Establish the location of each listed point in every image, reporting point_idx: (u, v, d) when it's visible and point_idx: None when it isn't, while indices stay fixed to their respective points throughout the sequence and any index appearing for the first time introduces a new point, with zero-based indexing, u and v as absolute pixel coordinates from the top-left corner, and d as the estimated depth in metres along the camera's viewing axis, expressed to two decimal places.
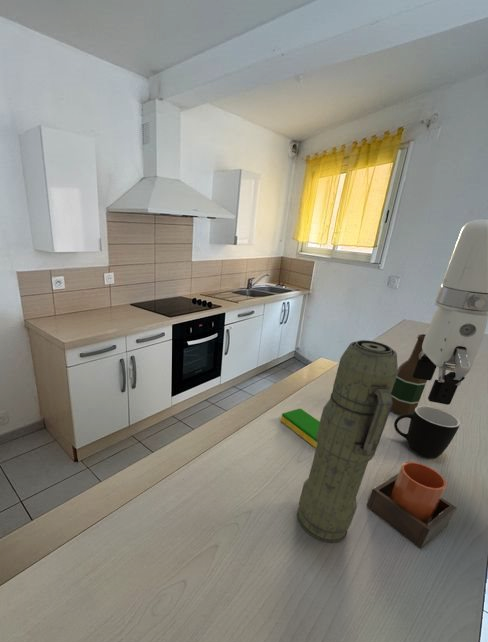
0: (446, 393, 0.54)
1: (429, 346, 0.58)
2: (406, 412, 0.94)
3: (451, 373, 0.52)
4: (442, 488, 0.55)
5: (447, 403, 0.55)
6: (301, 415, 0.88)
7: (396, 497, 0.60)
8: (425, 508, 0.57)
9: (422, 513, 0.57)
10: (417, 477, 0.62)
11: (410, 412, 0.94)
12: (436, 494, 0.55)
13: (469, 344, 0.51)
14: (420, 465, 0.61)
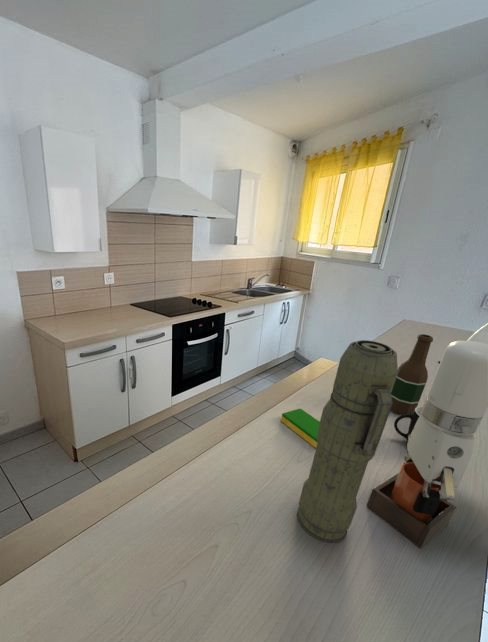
0: (430, 507, 0.55)
1: (415, 453, 0.57)
2: (406, 412, 0.94)
3: (436, 493, 0.52)
4: None
5: (431, 514, 0.56)
6: (301, 415, 0.88)
7: (396, 497, 0.60)
8: None
9: (422, 513, 0.57)
10: (417, 477, 0.62)
11: (410, 412, 0.94)
12: None
13: (457, 465, 0.51)
14: None
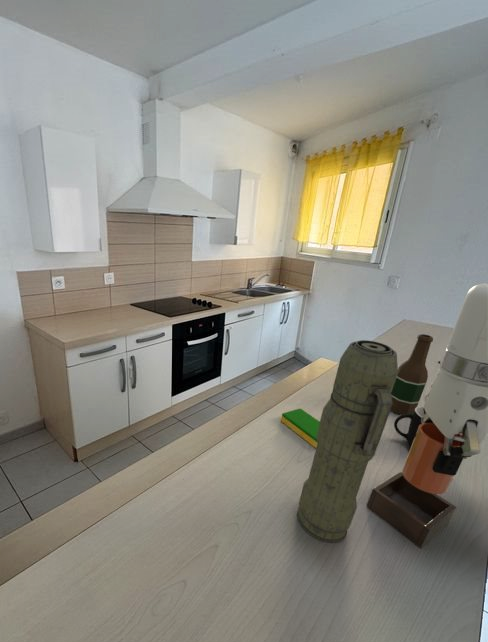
0: (452, 466, 0.51)
1: (434, 411, 0.54)
2: (406, 412, 0.94)
3: (458, 449, 0.49)
4: None
5: (452, 474, 0.53)
6: (301, 415, 0.88)
7: (413, 459, 0.57)
8: None
9: (442, 475, 0.54)
10: (435, 439, 0.58)
11: (410, 412, 0.94)
12: None
13: (481, 417, 0.47)
14: None
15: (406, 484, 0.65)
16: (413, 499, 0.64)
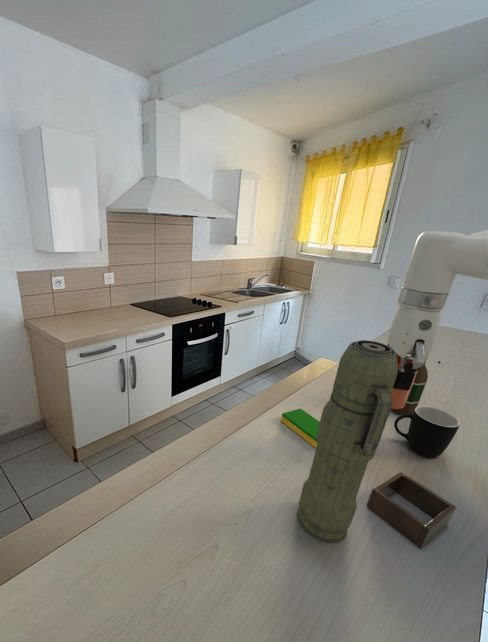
0: (406, 381, 0.64)
1: (394, 340, 0.67)
2: (406, 412, 0.94)
3: (409, 364, 0.61)
4: None
5: (407, 389, 0.65)
6: (301, 415, 0.88)
7: None
8: None
9: (399, 391, 0.67)
10: None
11: (410, 412, 0.94)
12: None
13: (426, 337, 0.60)
14: (398, 355, 0.70)
15: (406, 484, 0.65)
16: (413, 499, 0.64)
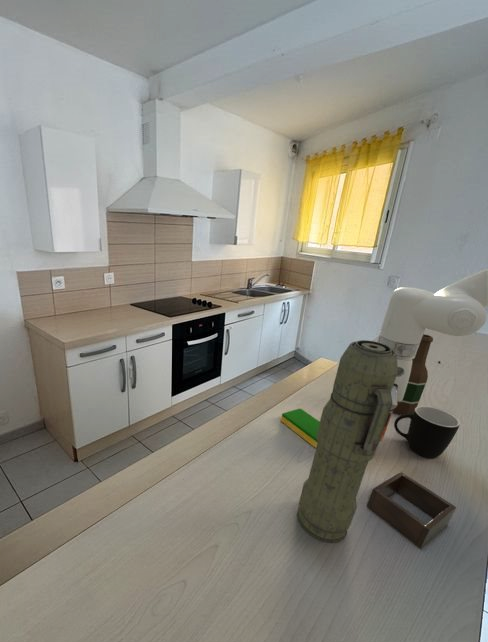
0: None
1: None
2: (406, 412, 0.94)
3: None
4: None
5: None
6: (301, 415, 0.88)
7: None
8: None
9: None
10: None
11: (410, 412, 0.94)
12: None
13: (399, 382, 0.67)
14: None
15: (406, 484, 0.65)
16: (413, 499, 0.64)
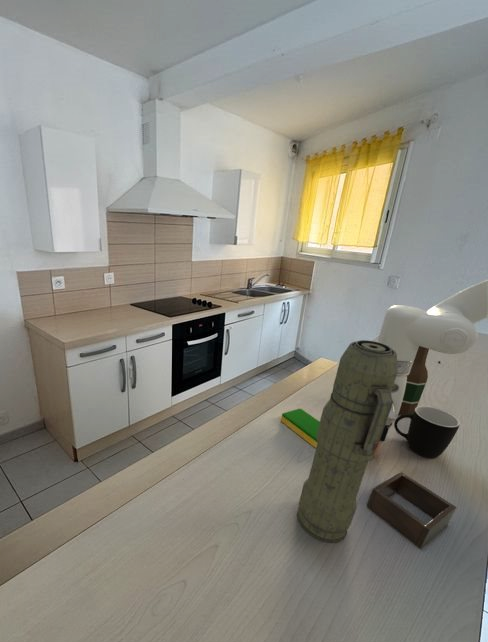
0: None
1: None
2: (406, 412, 0.94)
3: None
4: None
5: (382, 440, 0.72)
6: (301, 415, 0.88)
7: None
8: None
9: None
10: None
11: (410, 412, 0.94)
12: None
13: (395, 398, 0.68)
14: None
15: (406, 484, 0.65)
16: (413, 499, 0.64)
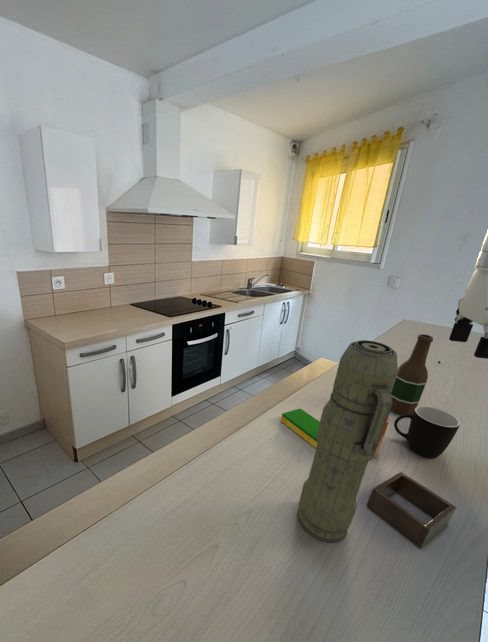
0: None
1: (470, 308, 0.64)
2: (406, 412, 0.94)
3: None
4: None
5: None
6: (301, 415, 0.88)
7: None
8: None
9: None
10: None
11: (410, 412, 0.94)
12: None
13: None
14: None
15: (406, 484, 0.65)
16: (413, 499, 0.64)
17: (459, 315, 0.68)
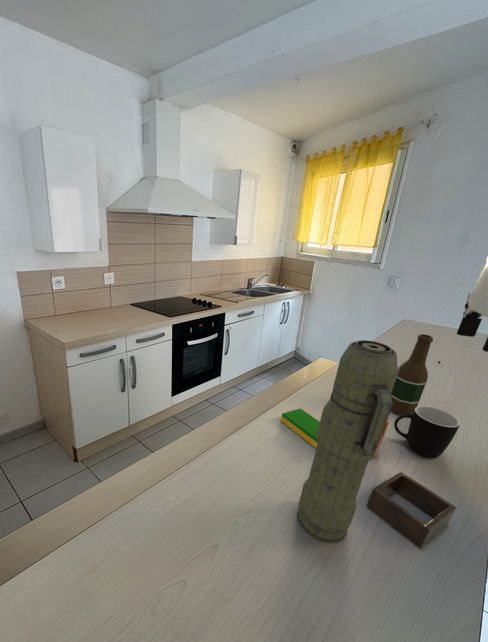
0: None
1: (480, 302, 0.63)
2: (406, 412, 0.94)
3: None
4: None
5: None
6: (301, 415, 0.88)
7: None
8: None
9: None
10: None
11: (410, 412, 0.94)
12: None
13: None
14: None
15: (406, 484, 0.65)
16: (413, 499, 0.64)
17: (468, 309, 0.68)
